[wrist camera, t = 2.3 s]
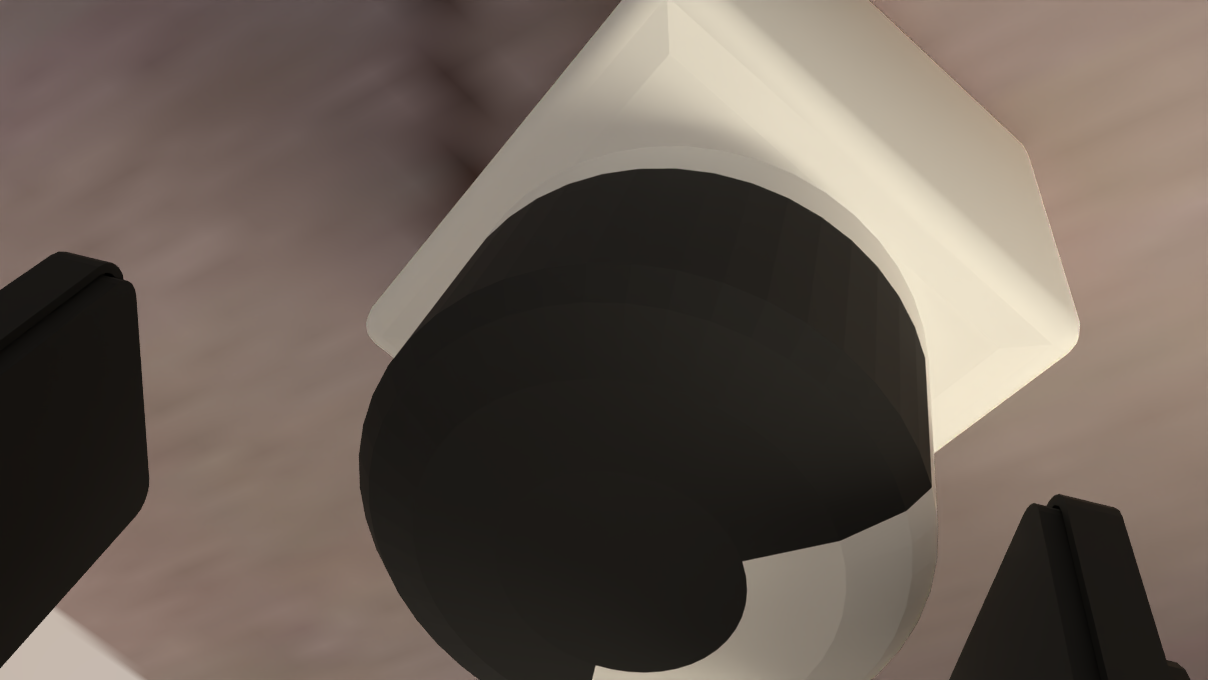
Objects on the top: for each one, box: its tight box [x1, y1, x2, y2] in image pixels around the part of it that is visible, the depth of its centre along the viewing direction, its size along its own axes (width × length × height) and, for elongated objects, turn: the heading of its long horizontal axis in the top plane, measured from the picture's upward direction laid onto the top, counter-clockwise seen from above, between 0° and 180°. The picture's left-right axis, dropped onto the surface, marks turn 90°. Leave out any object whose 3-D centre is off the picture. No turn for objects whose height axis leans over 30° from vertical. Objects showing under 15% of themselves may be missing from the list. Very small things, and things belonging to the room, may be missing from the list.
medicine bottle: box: [359, 0, 1080, 680], centre depth 16 cm, size 7×7×12 cm
